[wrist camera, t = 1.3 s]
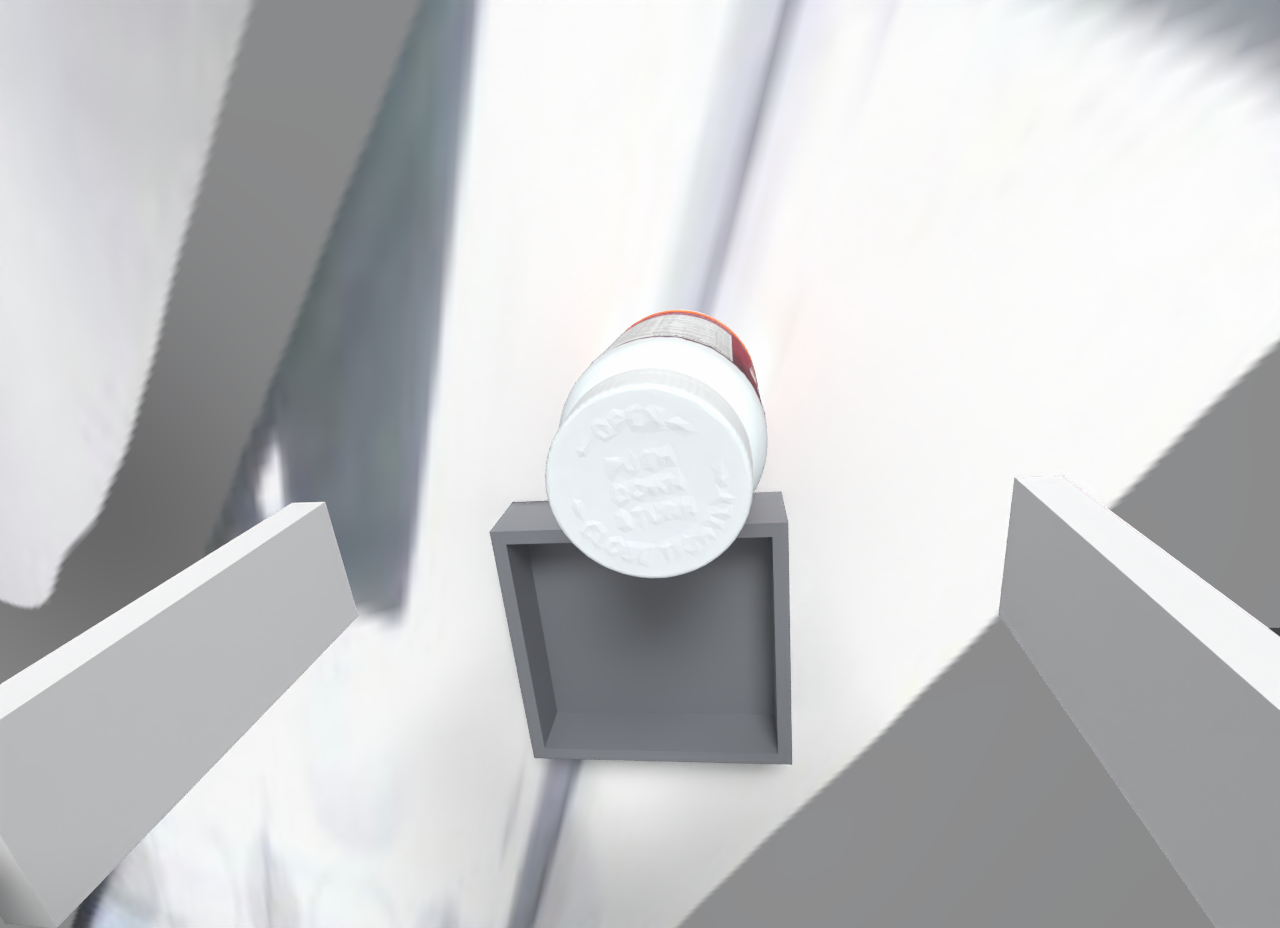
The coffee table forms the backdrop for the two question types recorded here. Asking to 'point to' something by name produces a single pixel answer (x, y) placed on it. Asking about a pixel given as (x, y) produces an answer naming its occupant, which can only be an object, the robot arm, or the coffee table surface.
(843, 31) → the coffee table surface
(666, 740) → the tray
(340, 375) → the coffee table surface
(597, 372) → the pill bottle
